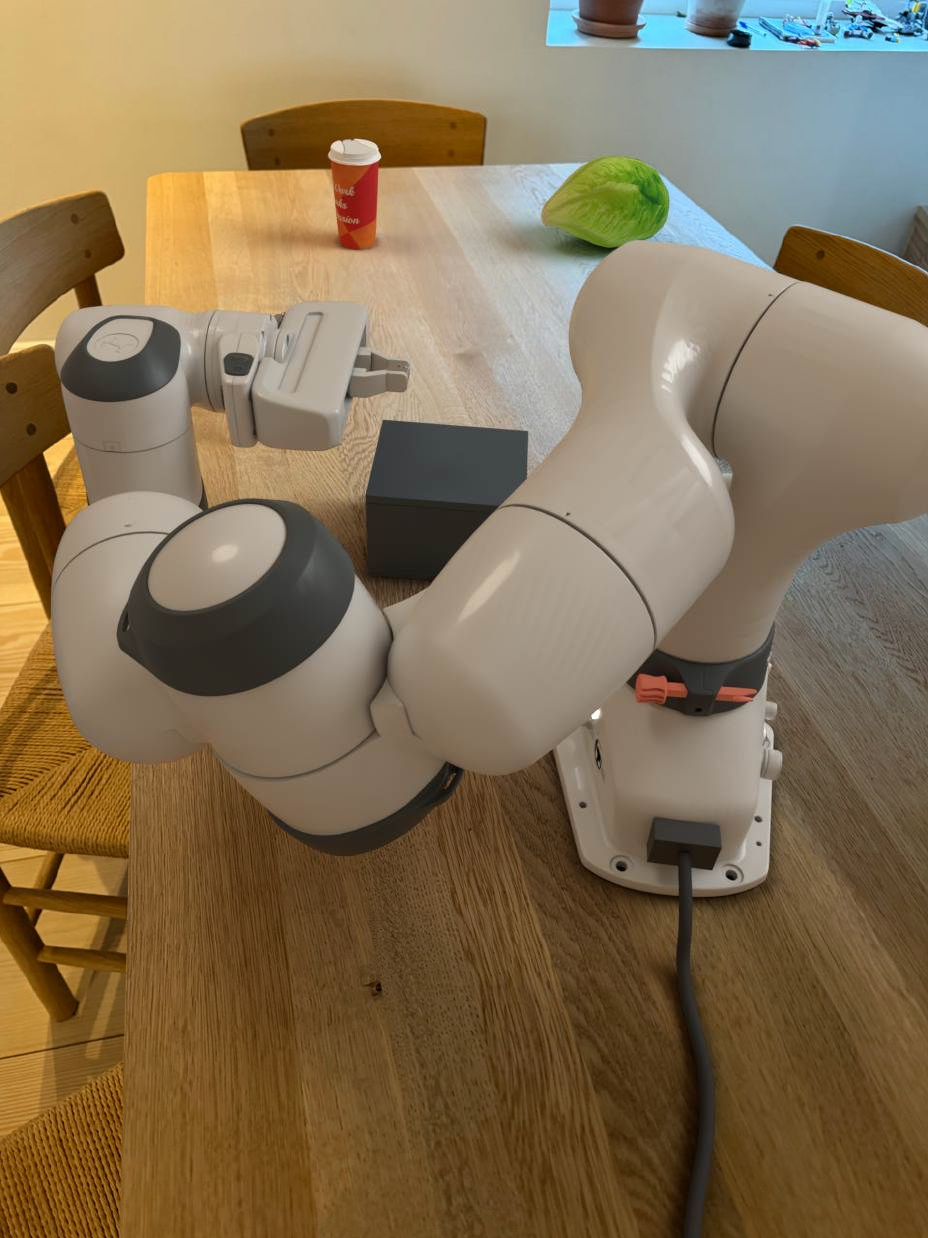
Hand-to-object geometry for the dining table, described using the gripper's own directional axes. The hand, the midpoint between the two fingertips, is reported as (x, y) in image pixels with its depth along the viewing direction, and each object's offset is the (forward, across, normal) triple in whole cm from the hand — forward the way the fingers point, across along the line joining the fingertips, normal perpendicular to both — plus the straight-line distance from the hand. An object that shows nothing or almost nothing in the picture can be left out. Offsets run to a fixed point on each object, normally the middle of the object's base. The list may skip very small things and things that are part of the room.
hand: (408, 375), depth 84 cm
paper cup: (-15, -71, -19) cm, 75 cm away
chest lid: (+4, 0, -10) cm, 10 cm away
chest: (+4, 0, -18) cm, 19 cm away
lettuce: (+23, -77, -19) cm, 83 cm away
